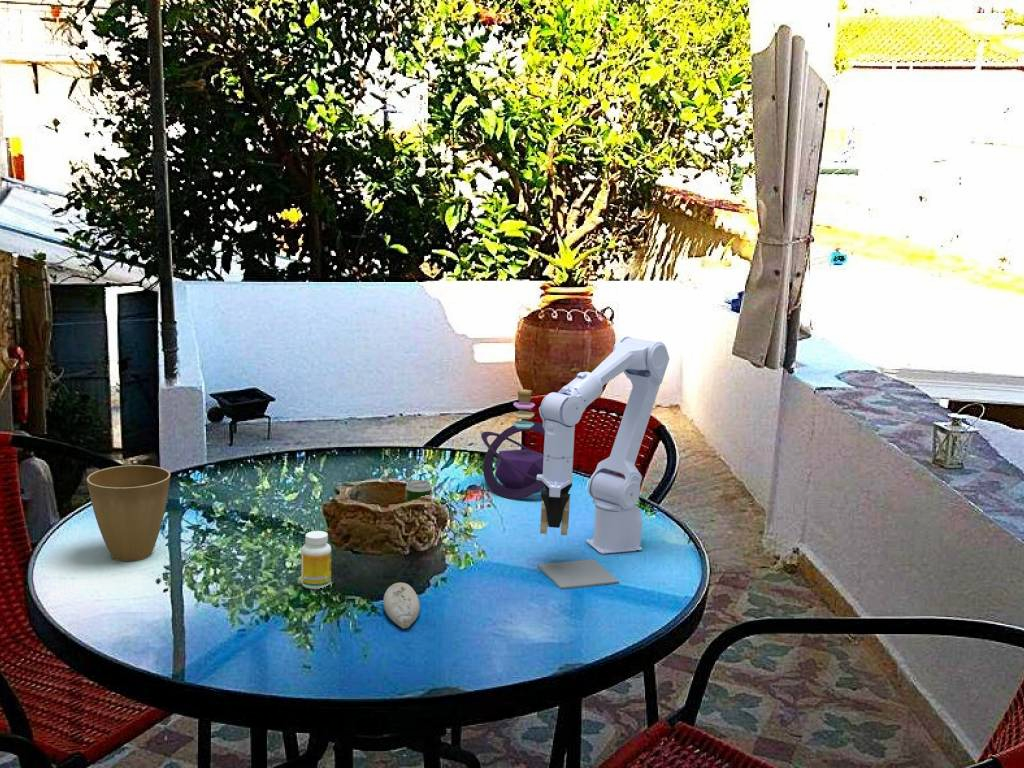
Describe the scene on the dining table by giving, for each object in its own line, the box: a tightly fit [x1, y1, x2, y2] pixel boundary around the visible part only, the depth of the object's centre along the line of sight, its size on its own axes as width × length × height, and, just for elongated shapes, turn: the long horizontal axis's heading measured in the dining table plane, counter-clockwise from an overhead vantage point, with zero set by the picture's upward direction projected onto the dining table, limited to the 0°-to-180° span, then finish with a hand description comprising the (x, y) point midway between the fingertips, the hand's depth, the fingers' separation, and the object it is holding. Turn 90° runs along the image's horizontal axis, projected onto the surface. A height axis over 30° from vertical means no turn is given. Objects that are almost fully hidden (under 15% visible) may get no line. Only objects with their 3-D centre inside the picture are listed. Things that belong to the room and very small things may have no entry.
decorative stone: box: [382, 582, 420, 630], centre depth 171 cm, size 6×16×3 cm, turn 13°
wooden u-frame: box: [539, 497, 571, 536], centre depth 194 cm, size 5×5×6 cm
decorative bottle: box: [480, 389, 545, 500], centre depth 245 cm, size 22×21×25 cm
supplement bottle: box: [300, 530, 332, 590], centre depth 181 cm, size 5×5×10 cm
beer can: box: [404, 479, 432, 501], centre depth 207 cm, size 5×5×12 cm
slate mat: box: [537, 559, 620, 590], centre depth 192 cm, size 12×12×1 cm
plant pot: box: [86, 464, 171, 562], centre depth 191 cm, size 15×15×16 cm
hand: (555, 522), depth 194 cm, fingers closed on wooden u-frame, 5 cm apart
